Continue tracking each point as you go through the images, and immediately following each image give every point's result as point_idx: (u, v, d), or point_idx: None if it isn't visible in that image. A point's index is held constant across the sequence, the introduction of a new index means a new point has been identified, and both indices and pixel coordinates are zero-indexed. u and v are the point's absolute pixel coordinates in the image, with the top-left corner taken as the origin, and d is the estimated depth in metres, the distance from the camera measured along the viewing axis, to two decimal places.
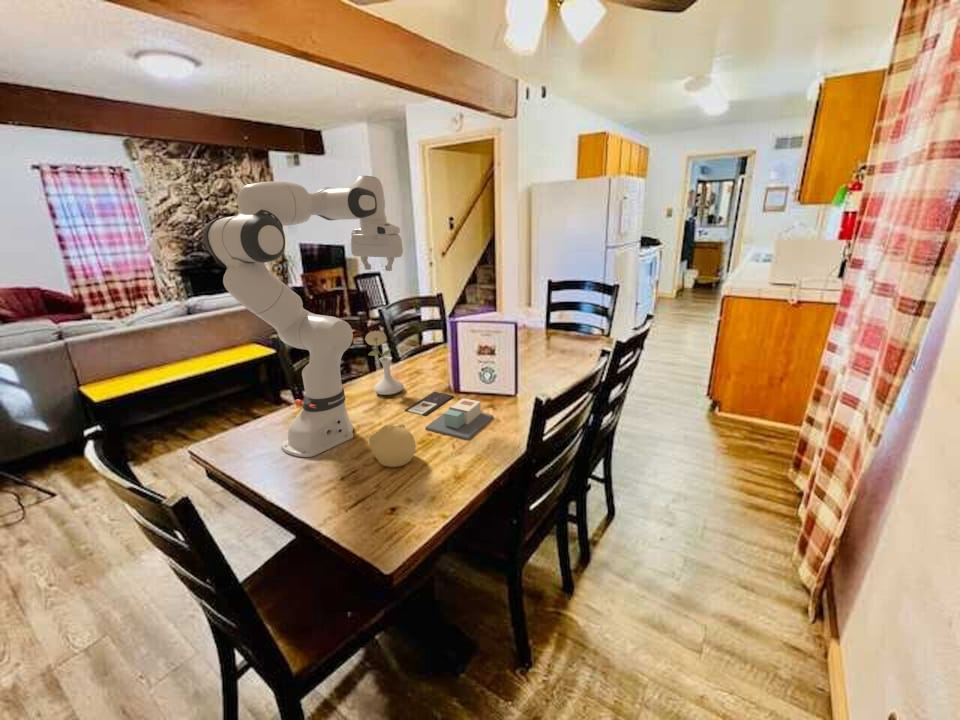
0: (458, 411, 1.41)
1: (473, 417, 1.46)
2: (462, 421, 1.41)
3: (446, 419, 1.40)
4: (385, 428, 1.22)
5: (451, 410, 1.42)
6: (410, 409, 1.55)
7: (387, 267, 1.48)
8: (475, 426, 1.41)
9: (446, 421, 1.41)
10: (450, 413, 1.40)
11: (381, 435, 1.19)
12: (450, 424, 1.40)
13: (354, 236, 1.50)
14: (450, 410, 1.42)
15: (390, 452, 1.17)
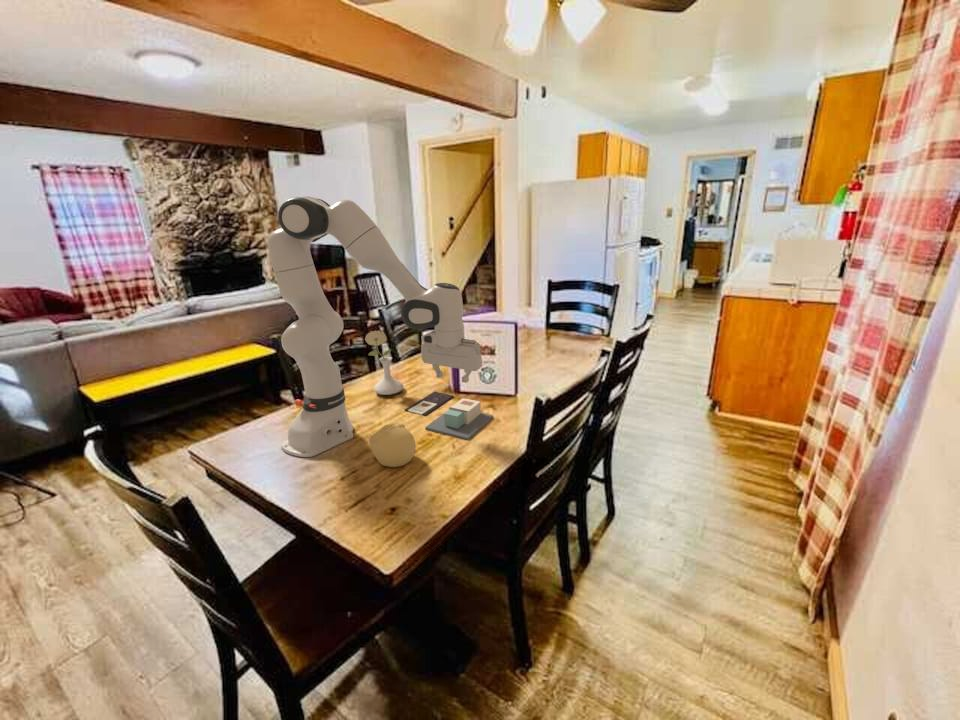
0: (458, 411, 1.41)
1: (473, 417, 1.46)
2: (462, 421, 1.41)
3: (446, 419, 1.40)
4: (385, 428, 1.22)
5: (451, 410, 1.42)
6: (410, 409, 1.55)
7: None
8: (475, 426, 1.41)
9: (446, 421, 1.41)
10: (450, 413, 1.40)
11: (381, 435, 1.19)
12: (450, 424, 1.40)
13: None
14: (450, 410, 1.42)
15: (390, 452, 1.17)
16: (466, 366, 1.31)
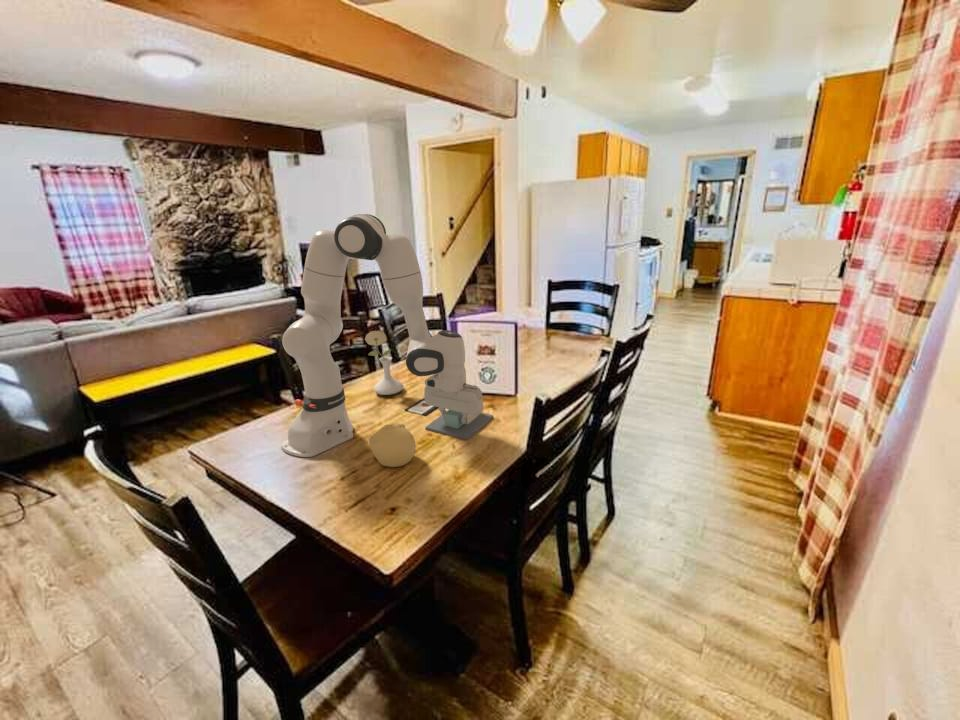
0: (458, 411, 1.41)
1: (473, 417, 1.46)
2: None
3: (446, 419, 1.40)
4: (385, 428, 1.22)
5: (451, 410, 1.42)
6: (410, 409, 1.55)
7: None
8: (475, 426, 1.41)
9: (446, 421, 1.41)
10: (450, 413, 1.40)
11: (381, 435, 1.19)
12: (450, 424, 1.40)
13: None
14: (450, 410, 1.42)
15: (390, 452, 1.17)
16: (468, 410, 1.35)
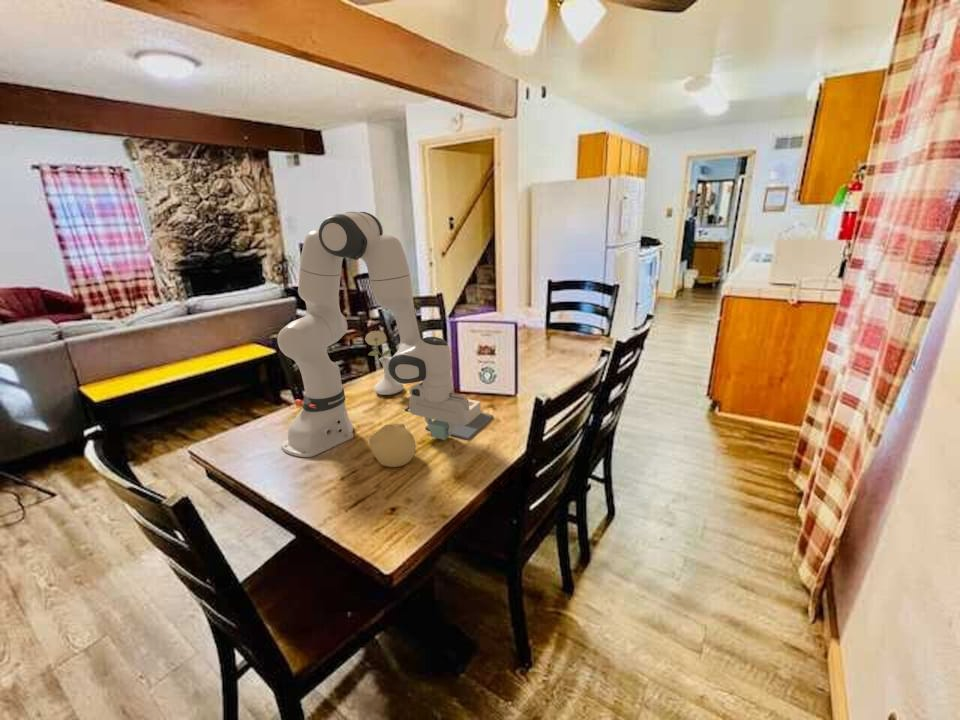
0: None
1: (473, 417, 1.46)
2: None
3: (432, 430, 1.34)
4: (385, 428, 1.22)
5: (437, 420, 1.36)
6: None
7: None
8: (475, 426, 1.41)
9: (432, 432, 1.34)
10: (436, 424, 1.33)
11: (381, 435, 1.19)
12: (436, 435, 1.34)
13: None
14: (436, 420, 1.36)
15: (390, 452, 1.17)
16: (454, 421, 1.29)
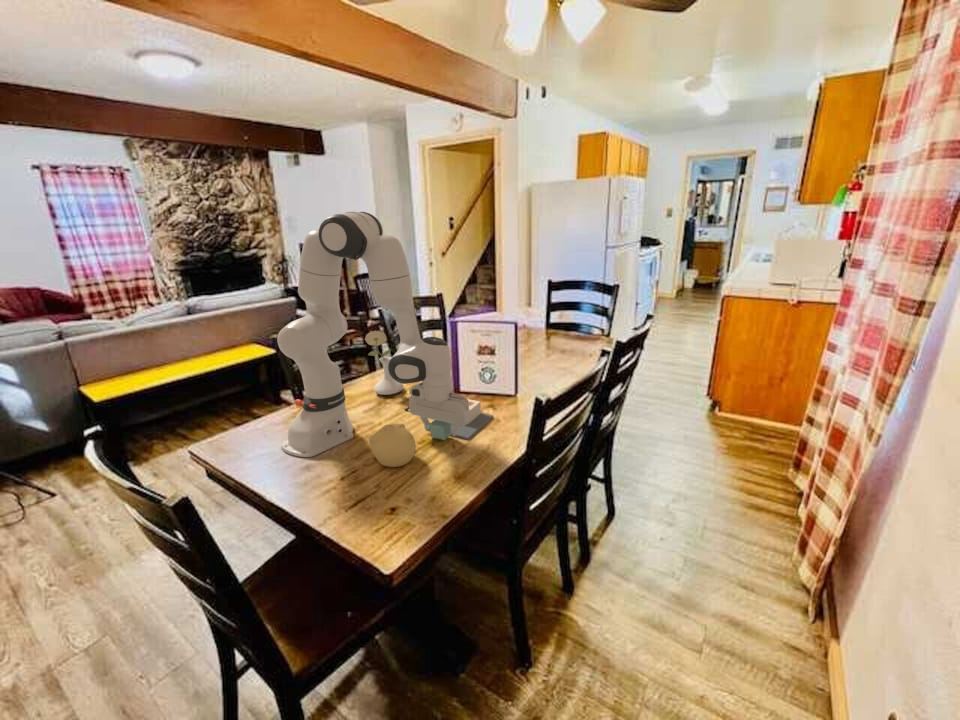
0: None
1: (473, 417, 1.46)
2: (449, 432, 1.35)
3: (432, 430, 1.34)
4: (385, 428, 1.22)
5: (437, 420, 1.36)
6: None
7: None
8: (475, 426, 1.41)
9: (432, 432, 1.34)
10: (436, 424, 1.33)
11: (381, 435, 1.19)
12: (436, 435, 1.34)
13: None
14: (436, 420, 1.36)
15: (390, 452, 1.17)
16: (454, 421, 1.29)
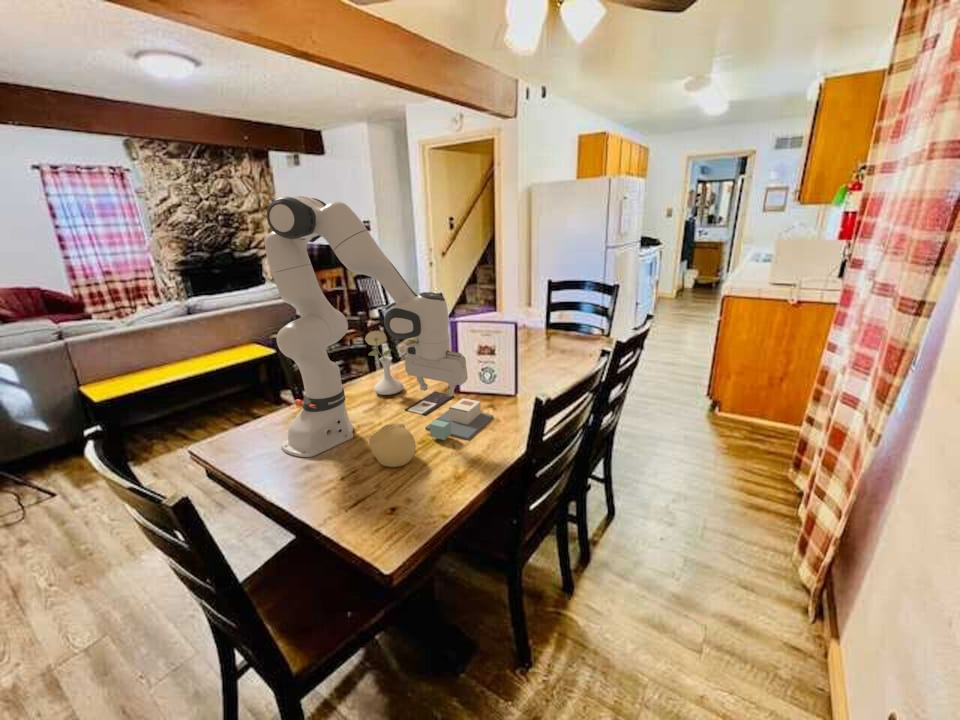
0: (444, 421, 1.35)
1: (473, 417, 1.46)
2: (449, 432, 1.35)
3: (432, 430, 1.34)
4: (385, 428, 1.22)
5: (437, 420, 1.36)
6: (410, 409, 1.56)
7: None
8: (475, 426, 1.41)
9: (432, 432, 1.34)
10: (436, 424, 1.33)
11: (381, 435, 1.19)
12: (436, 435, 1.34)
13: None
14: (436, 420, 1.36)
15: (390, 452, 1.17)
16: (451, 380, 1.25)
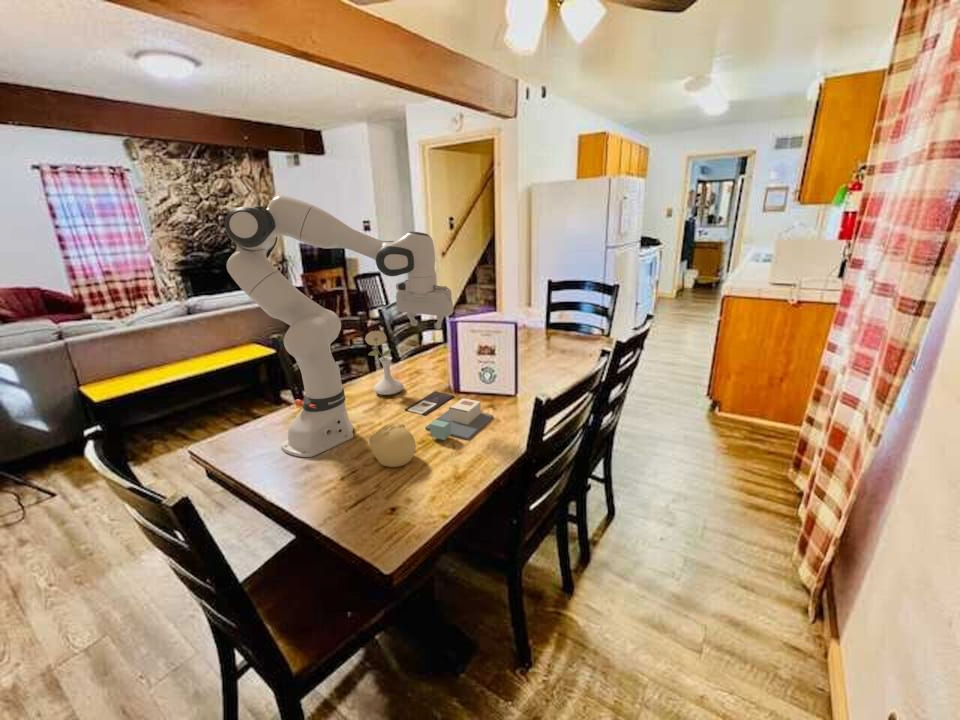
0: (444, 421, 1.35)
1: (473, 417, 1.46)
2: (449, 432, 1.35)
3: (432, 430, 1.34)
4: (385, 428, 1.22)
5: (437, 420, 1.36)
6: (410, 409, 1.56)
7: None
8: (475, 426, 1.41)
9: (432, 432, 1.34)
10: (436, 424, 1.33)
11: (381, 435, 1.19)
12: (436, 435, 1.34)
13: None
14: (436, 420, 1.36)
15: (390, 452, 1.17)
16: (438, 312, 1.37)
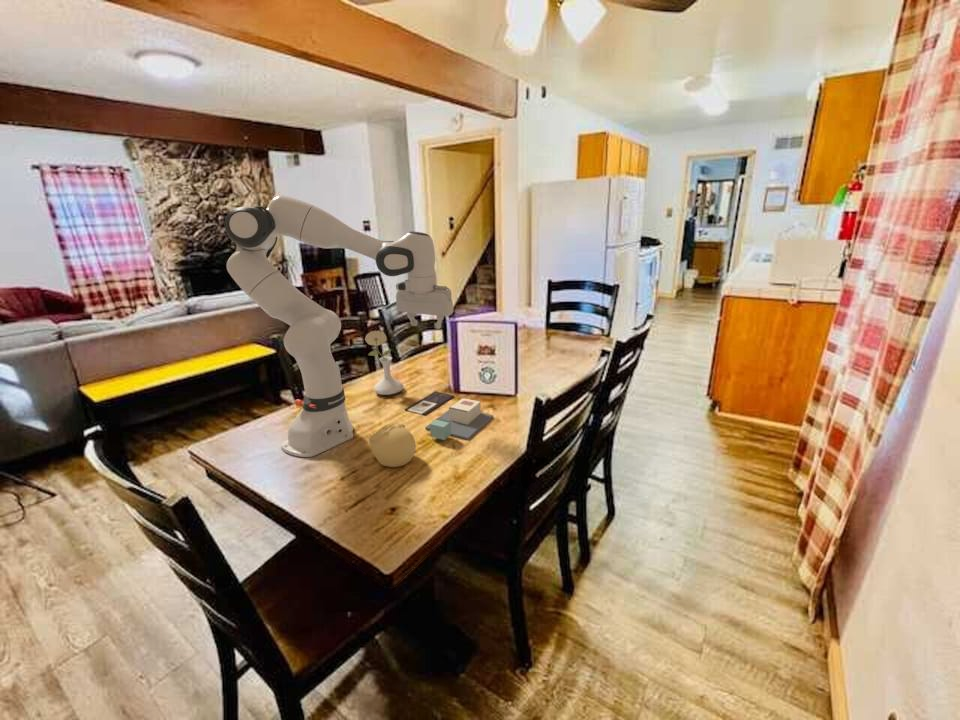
0: (444, 421, 1.35)
1: (473, 417, 1.46)
2: (449, 432, 1.35)
3: (432, 430, 1.34)
4: (385, 428, 1.22)
5: (437, 420, 1.36)
6: (410, 409, 1.56)
7: None
8: (475, 426, 1.41)
9: (432, 432, 1.34)
10: (436, 424, 1.33)
11: (381, 435, 1.19)
12: (436, 435, 1.34)
13: None
14: (436, 420, 1.36)
15: (390, 452, 1.17)
16: (438, 312, 1.37)
